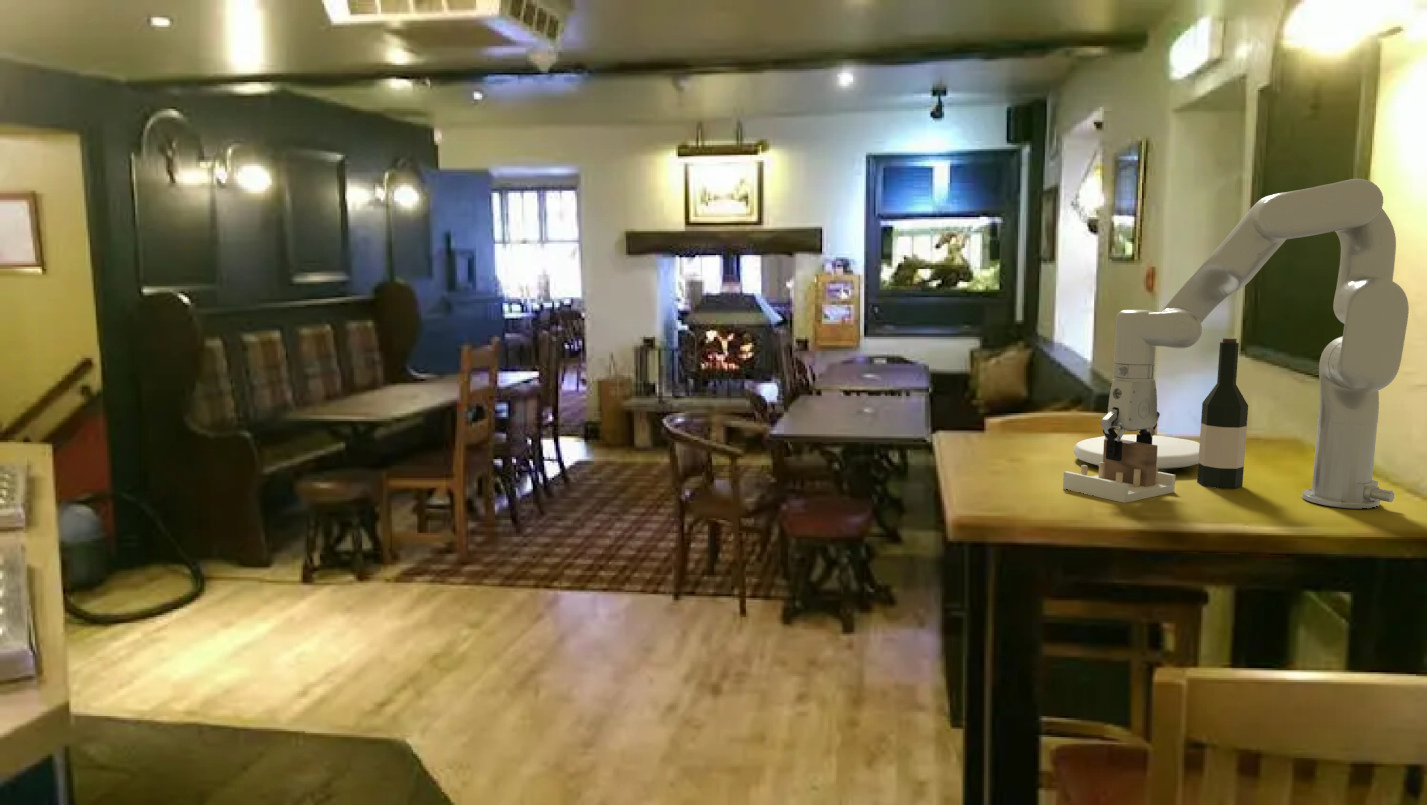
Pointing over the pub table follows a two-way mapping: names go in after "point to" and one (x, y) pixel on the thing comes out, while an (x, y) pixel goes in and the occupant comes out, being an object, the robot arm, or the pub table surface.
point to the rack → (1117, 485)
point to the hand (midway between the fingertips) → (1128, 457)
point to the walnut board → (1133, 462)
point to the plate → (1168, 449)
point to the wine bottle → (1223, 426)
